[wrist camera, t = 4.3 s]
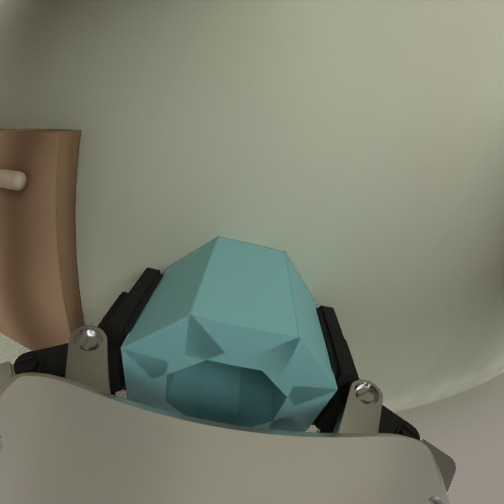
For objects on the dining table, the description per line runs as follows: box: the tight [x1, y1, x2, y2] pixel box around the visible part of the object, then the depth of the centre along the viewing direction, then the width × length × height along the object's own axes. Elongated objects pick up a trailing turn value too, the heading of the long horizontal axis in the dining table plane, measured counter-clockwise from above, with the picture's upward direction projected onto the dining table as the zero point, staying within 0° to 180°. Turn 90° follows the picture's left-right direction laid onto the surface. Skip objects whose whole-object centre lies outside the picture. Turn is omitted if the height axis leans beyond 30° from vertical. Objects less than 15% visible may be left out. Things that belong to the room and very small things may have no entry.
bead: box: [121, 237, 337, 432], centre depth 10 cm, size 6×6×5 cm
